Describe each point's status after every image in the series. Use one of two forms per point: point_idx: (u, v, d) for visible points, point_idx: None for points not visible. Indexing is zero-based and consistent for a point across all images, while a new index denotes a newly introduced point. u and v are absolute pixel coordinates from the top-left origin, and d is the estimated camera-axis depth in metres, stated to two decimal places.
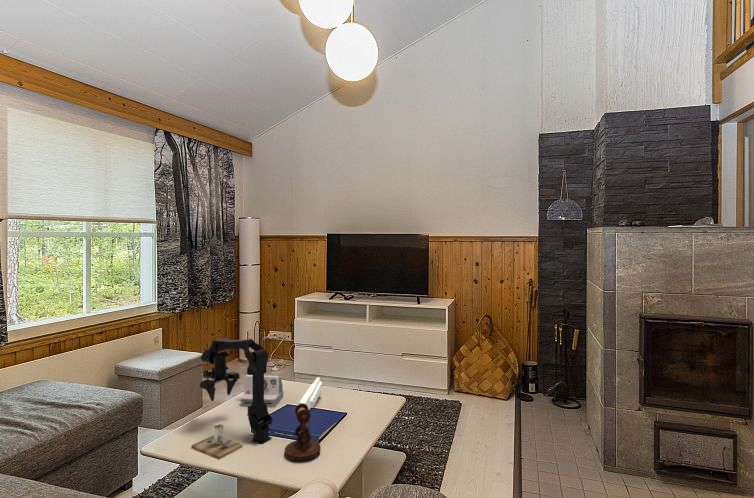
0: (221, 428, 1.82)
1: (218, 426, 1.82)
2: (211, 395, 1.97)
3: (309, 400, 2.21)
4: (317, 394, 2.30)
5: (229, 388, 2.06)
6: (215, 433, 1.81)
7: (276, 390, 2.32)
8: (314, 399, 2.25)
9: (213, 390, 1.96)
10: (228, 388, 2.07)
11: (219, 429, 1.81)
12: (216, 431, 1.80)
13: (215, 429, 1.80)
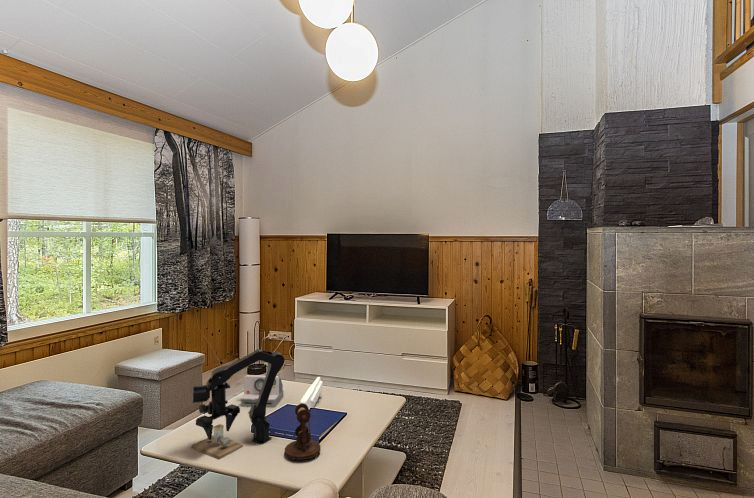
0: (221, 428, 1.82)
1: (218, 426, 1.82)
2: (208, 433, 1.77)
3: (309, 399, 2.22)
4: (317, 393, 2.31)
5: (228, 424, 1.85)
6: (215, 433, 1.81)
7: (276, 390, 2.31)
8: (314, 398, 2.26)
9: (211, 428, 1.76)
10: (227, 423, 1.86)
11: (219, 429, 1.81)
12: (216, 431, 1.80)
13: (215, 429, 1.80)
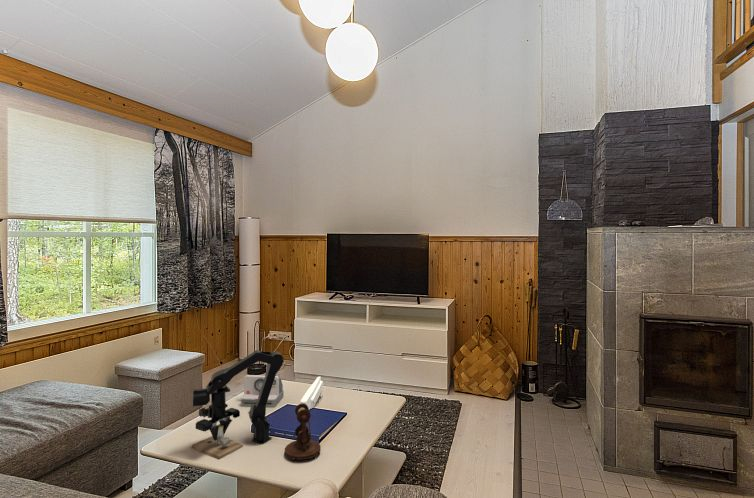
0: (221, 428, 1.82)
1: None
2: (214, 434, 1.79)
3: (310, 399, 2.22)
4: (318, 393, 2.32)
5: (223, 430, 1.83)
6: None
7: (276, 390, 2.31)
8: (315, 398, 2.26)
9: (217, 428, 1.78)
10: None
11: (219, 429, 1.81)
12: None
13: None
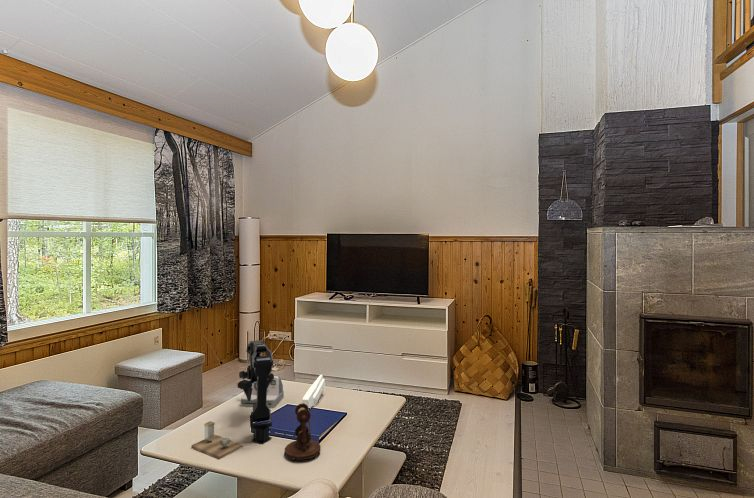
0: (212, 425, 1.85)
1: (209, 423, 1.85)
2: (248, 395, 2.03)
3: (312, 397, 2.25)
4: (320, 391, 2.35)
5: None
6: (206, 429, 1.84)
7: (276, 391, 2.31)
8: (317, 396, 2.30)
9: (251, 390, 2.02)
10: None
11: (210, 426, 1.84)
12: (207, 428, 1.83)
13: (206, 426, 1.84)
